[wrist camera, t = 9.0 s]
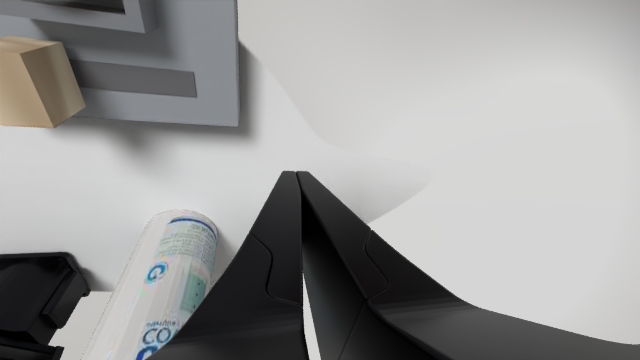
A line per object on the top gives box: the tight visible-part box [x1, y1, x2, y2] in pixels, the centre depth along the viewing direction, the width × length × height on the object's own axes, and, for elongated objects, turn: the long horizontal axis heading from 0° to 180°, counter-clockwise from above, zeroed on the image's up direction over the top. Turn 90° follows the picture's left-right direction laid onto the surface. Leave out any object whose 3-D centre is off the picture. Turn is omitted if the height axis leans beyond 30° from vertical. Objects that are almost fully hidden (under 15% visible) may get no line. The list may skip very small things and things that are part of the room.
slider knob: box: [0, 36, 86, 128], centre depth 12 cm, size 2×3×3 cm, turn 171°
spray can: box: [80, 210, 217, 360], centre depth 17 cm, size 6×6×20 cm
